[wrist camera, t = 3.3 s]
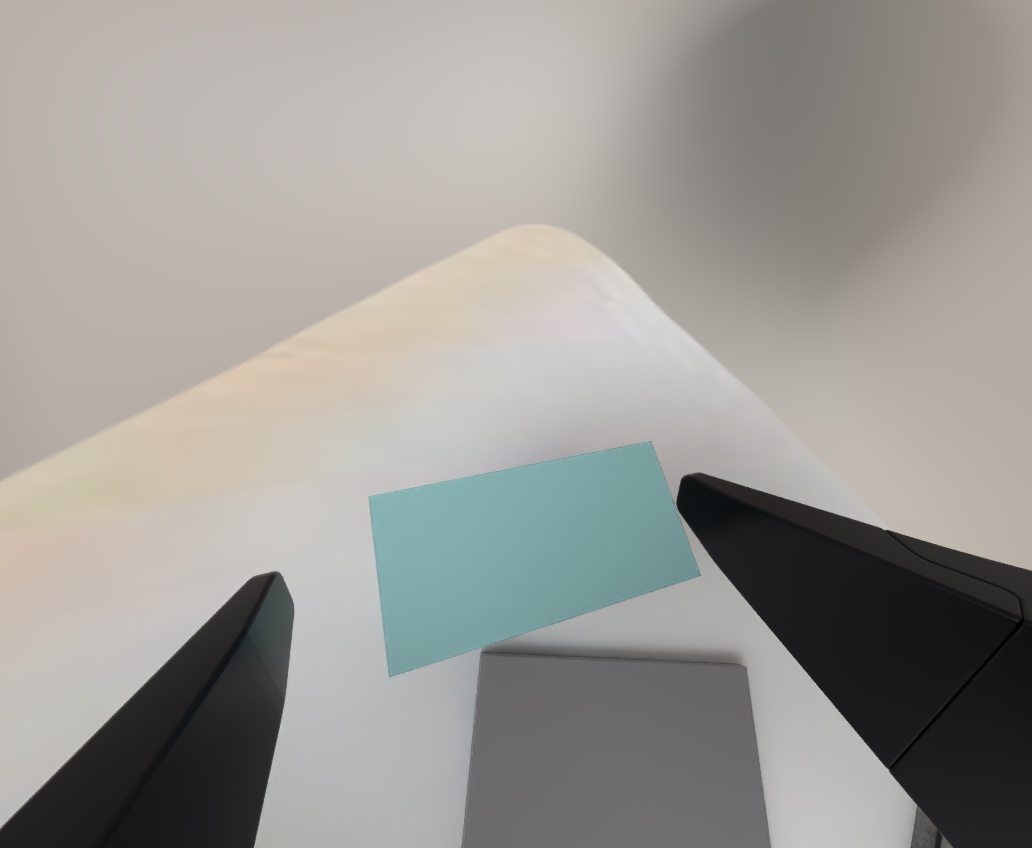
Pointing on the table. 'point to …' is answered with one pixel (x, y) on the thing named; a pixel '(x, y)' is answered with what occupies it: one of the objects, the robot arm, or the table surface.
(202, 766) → the robot arm
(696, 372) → the table surface
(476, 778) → the felt mat
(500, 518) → the box
